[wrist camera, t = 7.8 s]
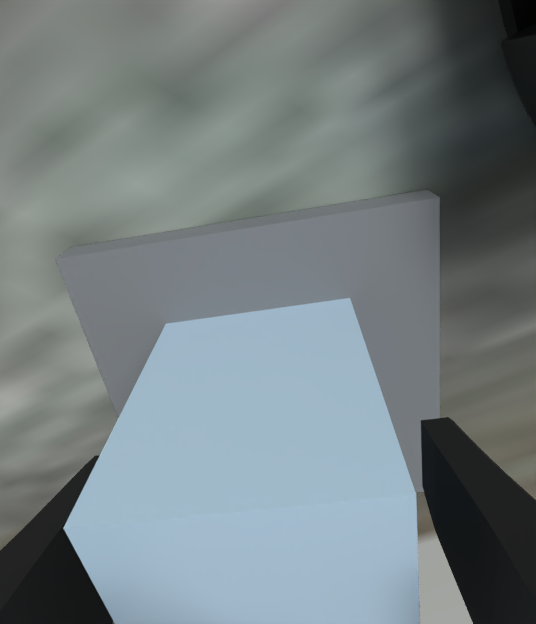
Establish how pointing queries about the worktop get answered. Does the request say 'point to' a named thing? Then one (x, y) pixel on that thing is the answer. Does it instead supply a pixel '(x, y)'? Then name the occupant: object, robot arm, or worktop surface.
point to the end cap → (521, 49)
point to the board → (278, 291)
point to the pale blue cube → (253, 481)
